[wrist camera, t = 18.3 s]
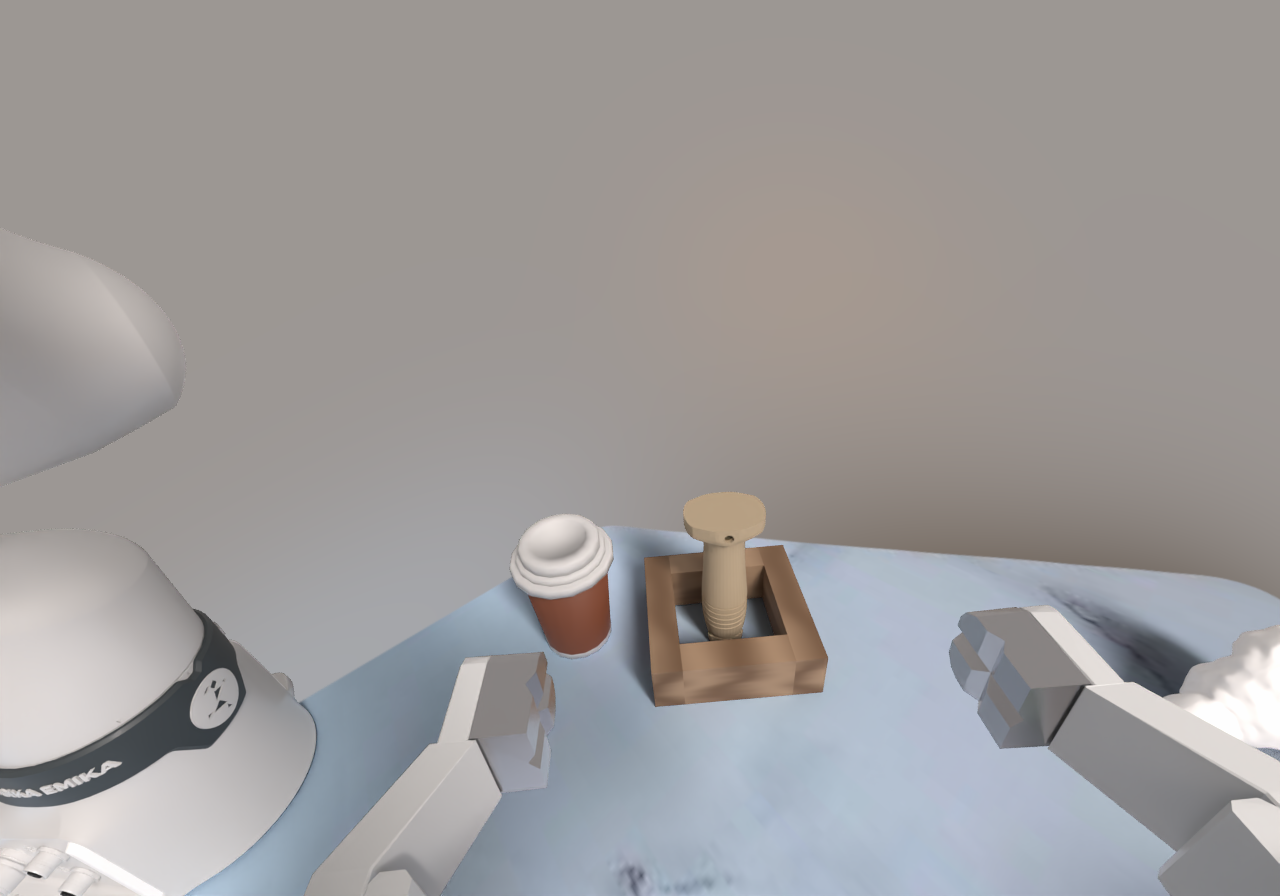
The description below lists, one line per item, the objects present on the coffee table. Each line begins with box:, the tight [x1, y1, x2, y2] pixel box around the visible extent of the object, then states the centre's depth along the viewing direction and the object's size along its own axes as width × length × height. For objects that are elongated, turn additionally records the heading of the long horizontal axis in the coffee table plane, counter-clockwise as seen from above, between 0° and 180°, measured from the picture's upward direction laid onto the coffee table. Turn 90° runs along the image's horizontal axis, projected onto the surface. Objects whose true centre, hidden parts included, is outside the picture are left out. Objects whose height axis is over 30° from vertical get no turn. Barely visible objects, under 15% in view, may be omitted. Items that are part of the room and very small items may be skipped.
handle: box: [683, 492, 766, 641], centre depth 44 cm, size 5×6×15 cm
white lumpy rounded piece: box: [1163, 625, 1280, 750], centre depth 35 cm, size 6×8×12 cm
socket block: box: [644, 545, 828, 707], centre depth 47 cm, size 14×13×4 cm
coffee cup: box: [510, 514, 613, 659], centre depth 47 cm, size 9×9×12 cm
